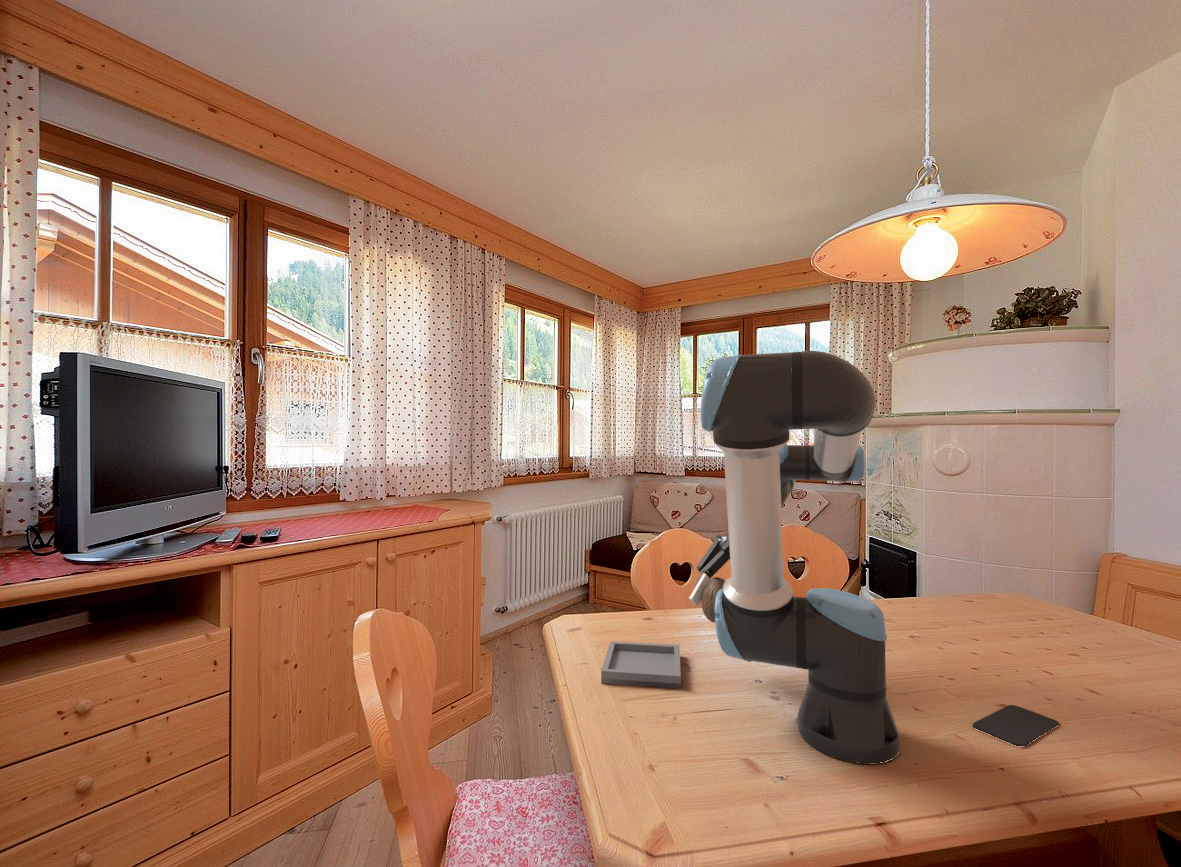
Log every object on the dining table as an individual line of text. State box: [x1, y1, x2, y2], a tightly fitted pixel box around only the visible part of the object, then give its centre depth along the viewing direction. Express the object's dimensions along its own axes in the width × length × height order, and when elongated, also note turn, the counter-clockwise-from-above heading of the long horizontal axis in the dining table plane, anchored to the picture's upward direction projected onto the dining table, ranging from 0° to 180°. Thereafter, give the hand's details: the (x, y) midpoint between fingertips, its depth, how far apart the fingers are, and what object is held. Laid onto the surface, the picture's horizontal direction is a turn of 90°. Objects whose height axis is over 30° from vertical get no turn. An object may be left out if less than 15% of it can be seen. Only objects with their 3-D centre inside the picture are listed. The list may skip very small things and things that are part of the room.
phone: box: [972, 704, 1060, 746], centre depth 89 cm, size 7×1×15 cm
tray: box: [600, 640, 682, 690], centre depth 112 cm, size 16×16×2 cm
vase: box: [701, 576, 726, 624], centre depth 109 cm, size 7×7×9 cm
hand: (706, 606), depth 106 cm, fingers closed on vase, 7 cm apart
